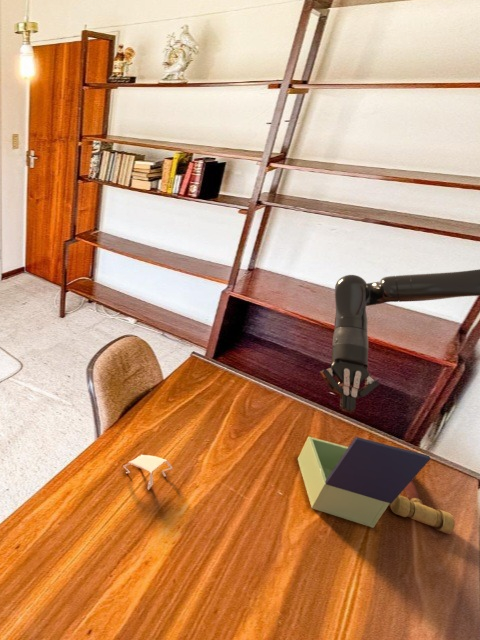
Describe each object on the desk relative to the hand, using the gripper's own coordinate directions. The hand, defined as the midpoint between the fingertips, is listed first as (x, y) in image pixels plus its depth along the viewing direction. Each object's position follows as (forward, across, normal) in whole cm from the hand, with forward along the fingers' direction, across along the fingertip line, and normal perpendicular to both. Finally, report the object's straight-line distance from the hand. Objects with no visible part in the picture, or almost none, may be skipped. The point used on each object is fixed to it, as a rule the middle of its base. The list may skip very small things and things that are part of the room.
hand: (347, 411), depth 102 cm
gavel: (+15, -18, -11) cm, 26 cm away
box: (+20, 0, -6) cm, 21 cm away
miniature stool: (+30, +45, +4) cm, 54 cm away
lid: (+13, 0, +12) cm, 18 cm away
